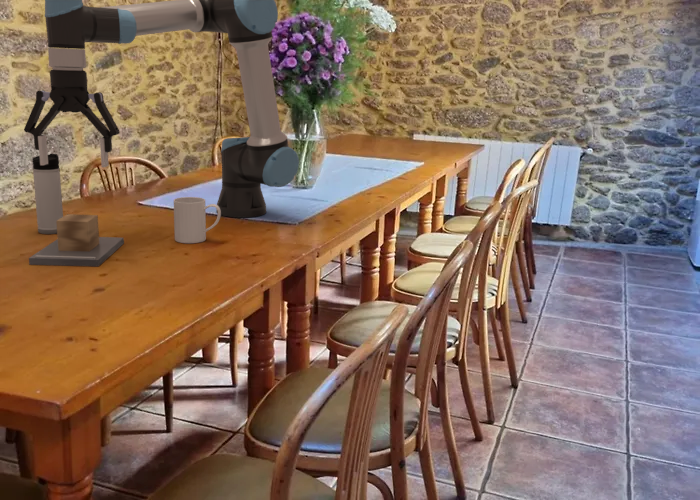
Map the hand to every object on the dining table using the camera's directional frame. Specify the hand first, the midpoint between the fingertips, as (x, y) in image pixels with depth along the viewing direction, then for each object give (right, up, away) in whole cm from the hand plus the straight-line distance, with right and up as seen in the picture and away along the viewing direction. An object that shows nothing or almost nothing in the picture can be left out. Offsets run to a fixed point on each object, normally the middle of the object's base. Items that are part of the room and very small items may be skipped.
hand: (74, 165), depth 155 cm
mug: (+24, -17, +21) cm, 36 cm away
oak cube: (-1, -19, +5) cm, 19 cm away
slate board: (-1, -20, +5) cm, 21 cm away
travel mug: (-16, -15, +24) cm, 32 cm away
